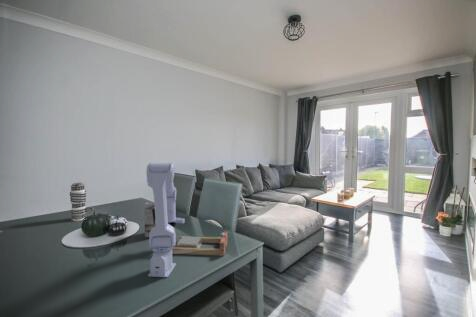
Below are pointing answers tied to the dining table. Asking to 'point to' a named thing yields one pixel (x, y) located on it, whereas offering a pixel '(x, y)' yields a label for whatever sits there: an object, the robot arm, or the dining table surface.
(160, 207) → the robot arm
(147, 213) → the coffee box
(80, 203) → the decorative candle
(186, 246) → the lock block
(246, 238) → the dining table surface
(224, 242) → the coupler track
